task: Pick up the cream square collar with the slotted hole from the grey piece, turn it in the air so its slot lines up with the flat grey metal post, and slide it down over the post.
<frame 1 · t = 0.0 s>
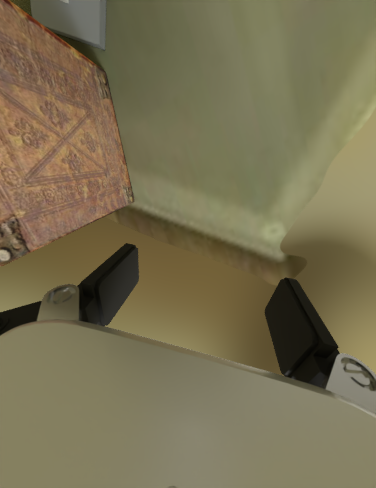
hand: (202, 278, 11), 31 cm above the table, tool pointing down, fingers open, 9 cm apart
book: (106, 149, 38), on the table
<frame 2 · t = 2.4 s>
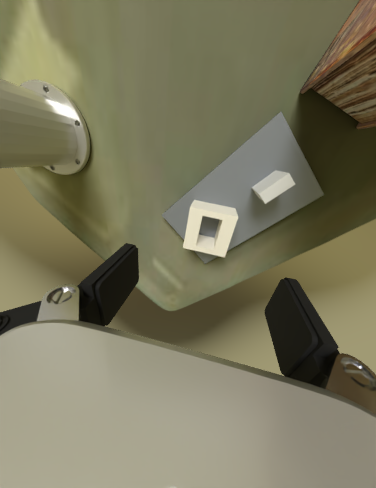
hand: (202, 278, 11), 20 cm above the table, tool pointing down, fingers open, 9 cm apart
collar: (209, 223, 28), point 1 cm above the table, touching grey piece
grey piece: (233, 203, 28), on the table
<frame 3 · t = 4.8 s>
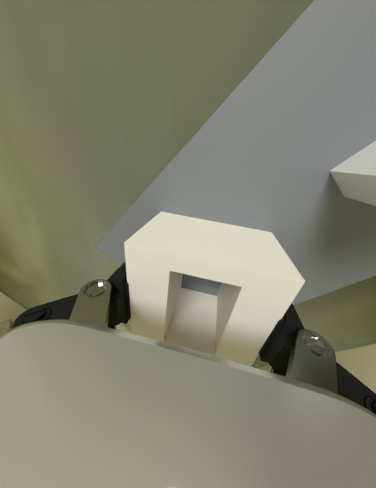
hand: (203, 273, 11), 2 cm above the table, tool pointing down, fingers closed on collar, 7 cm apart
collar: (204, 266, 12), point 1 cm above the table, touching gripper, grey piece
grey piece: (263, 218, 11), on the table
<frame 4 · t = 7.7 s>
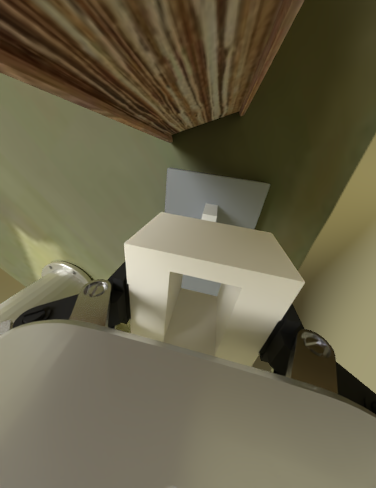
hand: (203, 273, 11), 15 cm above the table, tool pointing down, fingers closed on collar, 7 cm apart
collar: (204, 266, 12), point 14 cm above the table, touching gripper
grey piece: (203, 246, 27), on the table
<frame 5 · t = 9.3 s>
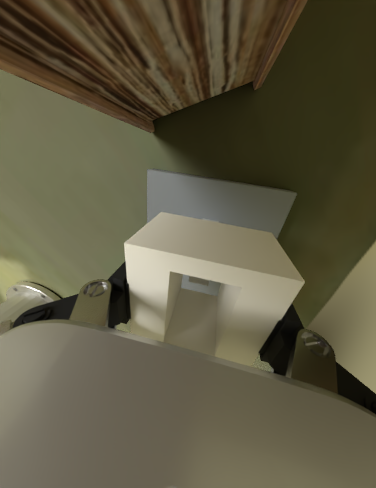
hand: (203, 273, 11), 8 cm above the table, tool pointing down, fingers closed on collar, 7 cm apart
collar: (204, 266, 12), point 7 cm above the table, touching gripper
grey piece: (200, 270, 20), on the table
when the fingers open (4 cm above the table, at t = 10.6 s): collar drops 1 cm, resting on grey piece.
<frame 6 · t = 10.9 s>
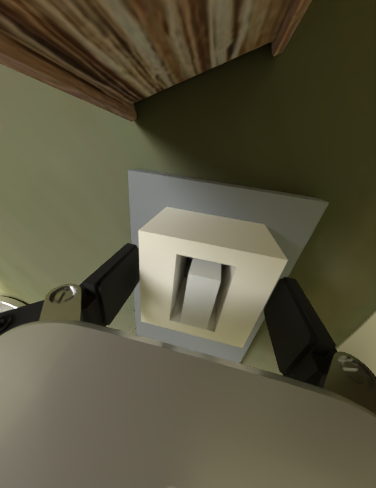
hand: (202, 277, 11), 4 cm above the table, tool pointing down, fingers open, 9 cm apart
collar: (205, 256, 13), point 1 cm above the table, touching grey piece
grey piece: (198, 291, 17), on the table
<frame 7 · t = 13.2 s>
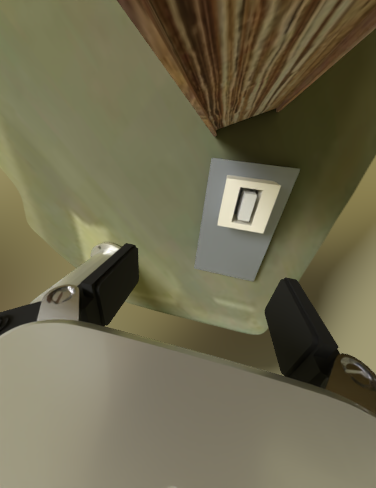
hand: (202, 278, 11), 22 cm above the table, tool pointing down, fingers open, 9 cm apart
collar: (243, 200, 27), point 1 cm above the table, touching grey piece
grey piece: (235, 226, 31), on the table
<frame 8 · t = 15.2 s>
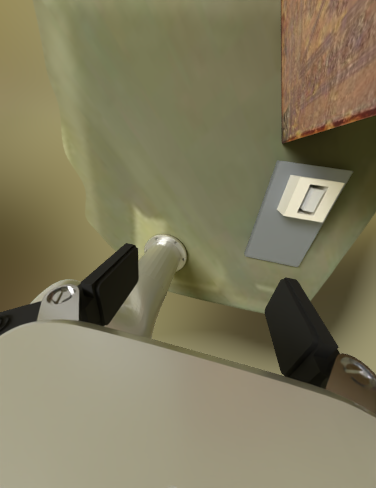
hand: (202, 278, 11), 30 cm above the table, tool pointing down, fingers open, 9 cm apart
collar: (301, 195, 33), point 1 cm above the table, touching grey piece
grey piece: (287, 218, 36), on the table
book: (313, 39, 24), on the table
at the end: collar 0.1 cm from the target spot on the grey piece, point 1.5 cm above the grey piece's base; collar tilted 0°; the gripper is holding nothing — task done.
